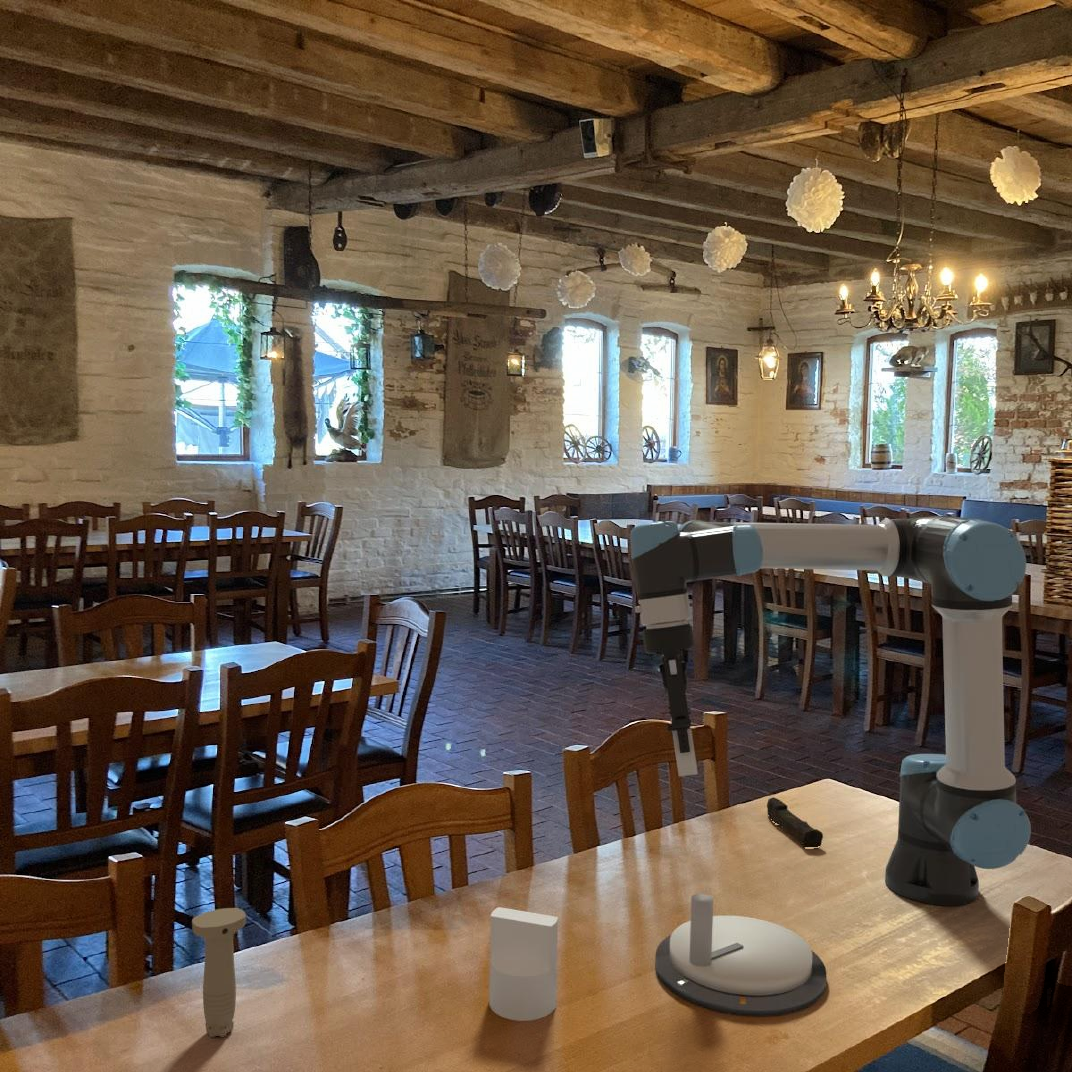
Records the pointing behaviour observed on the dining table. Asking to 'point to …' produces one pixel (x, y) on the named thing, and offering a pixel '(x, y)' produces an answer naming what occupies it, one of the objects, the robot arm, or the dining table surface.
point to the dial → (738, 952)
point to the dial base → (736, 1002)
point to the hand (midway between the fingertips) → (686, 766)
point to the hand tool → (793, 824)
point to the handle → (219, 966)
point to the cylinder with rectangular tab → (523, 964)
